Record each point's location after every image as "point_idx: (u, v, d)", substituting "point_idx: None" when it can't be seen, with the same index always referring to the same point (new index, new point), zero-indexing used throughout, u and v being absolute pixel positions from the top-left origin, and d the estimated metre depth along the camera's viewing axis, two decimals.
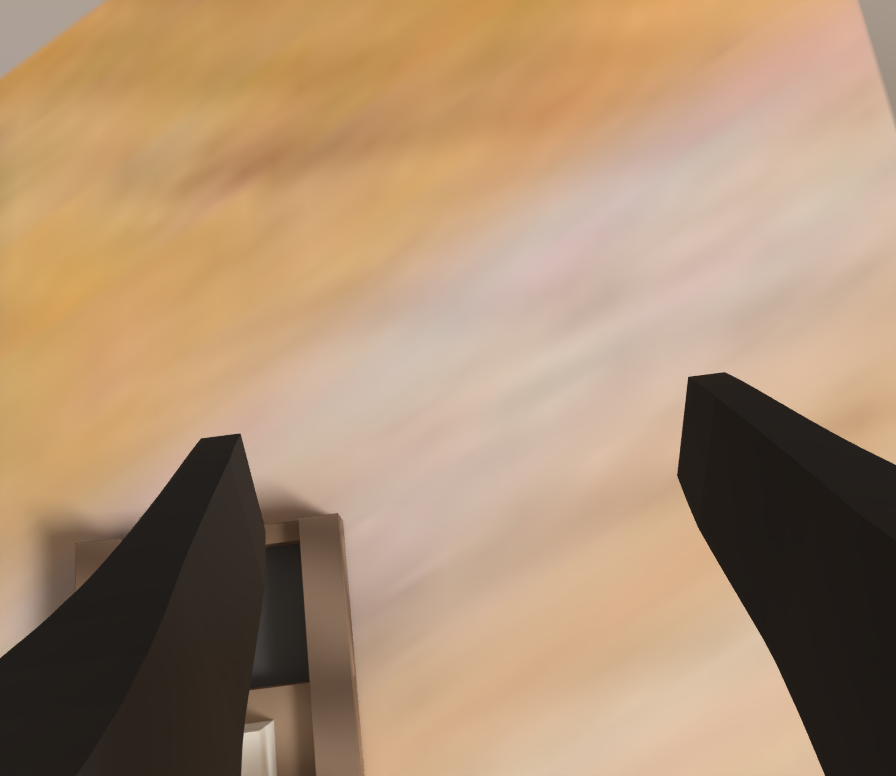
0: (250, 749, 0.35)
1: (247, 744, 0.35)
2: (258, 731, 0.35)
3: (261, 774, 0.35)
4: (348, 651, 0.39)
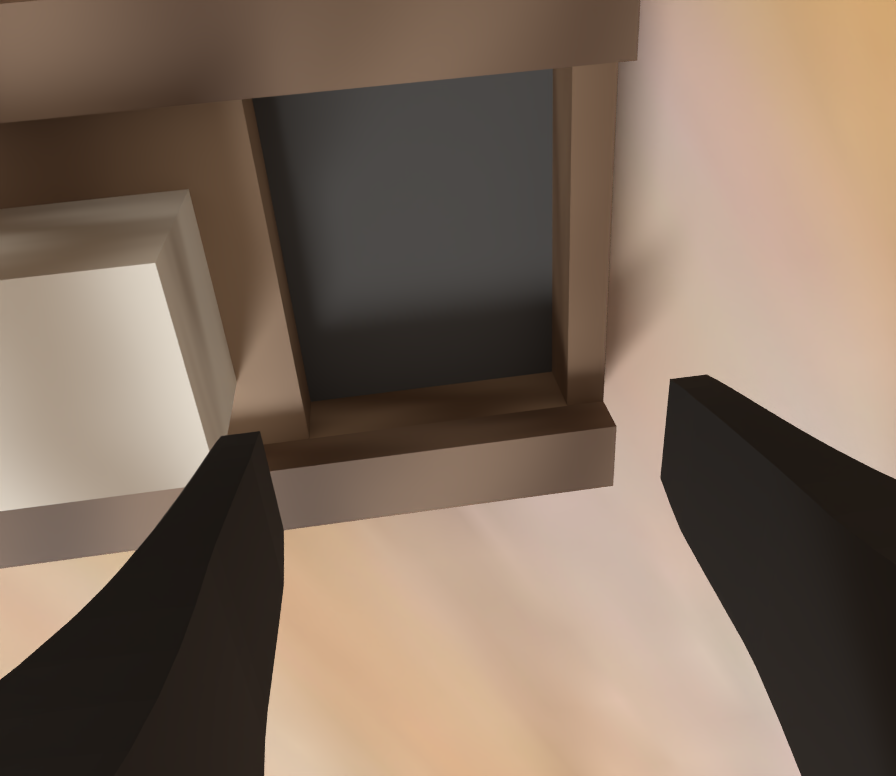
0: (179, 471, 0.17)
1: (188, 466, 0.17)
2: None
3: (132, 491, 0.17)
4: (367, 516, 0.22)
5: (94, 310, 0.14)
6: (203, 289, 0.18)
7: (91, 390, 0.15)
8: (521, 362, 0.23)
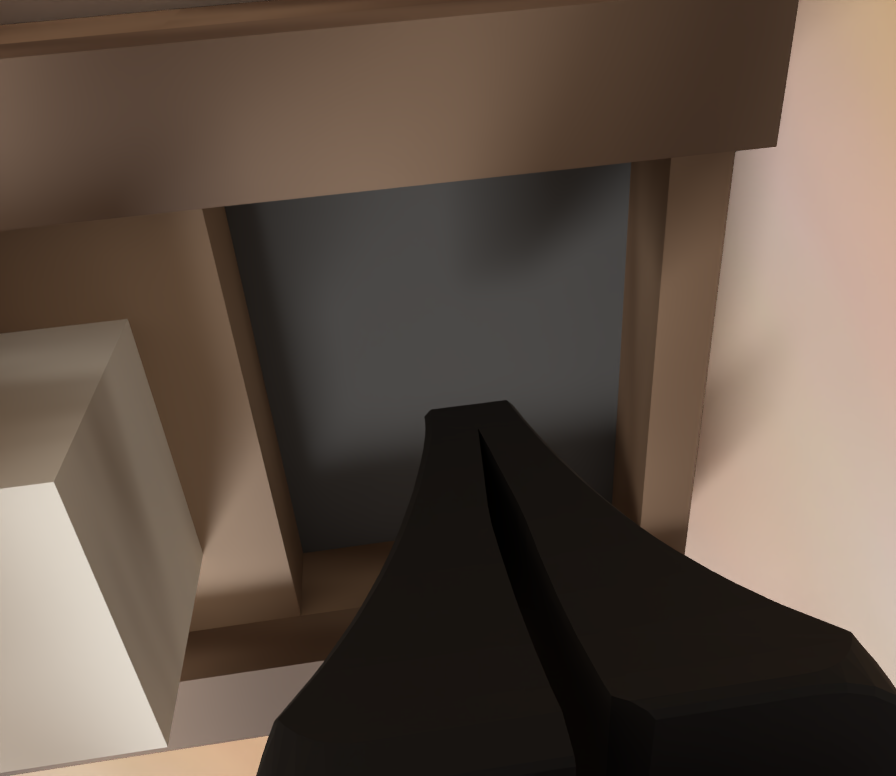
0: (110, 736, 0.11)
1: (122, 731, 0.11)
2: (165, 739, 0.12)
3: (44, 760, 0.12)
4: None
5: None
6: (149, 457, 0.13)
7: None
8: None
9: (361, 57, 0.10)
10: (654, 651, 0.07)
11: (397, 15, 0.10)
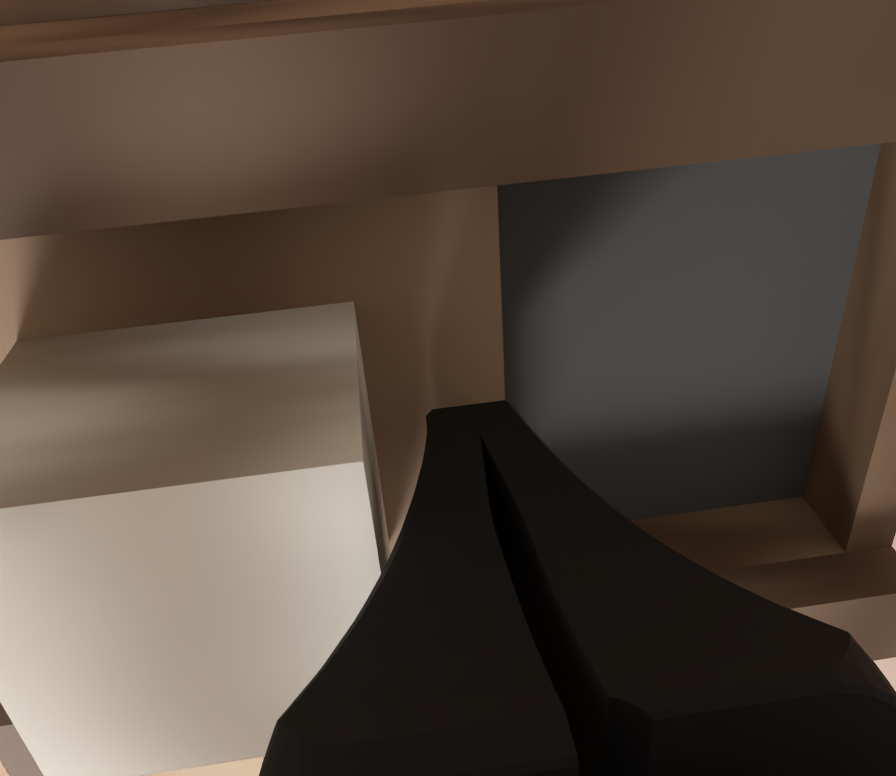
0: None
1: None
2: None
3: None
4: None
5: (259, 528, 0.09)
6: (372, 442, 0.12)
7: (241, 632, 0.10)
8: (767, 486, 0.18)
9: (717, 26, 0.10)
10: (653, 653, 0.07)
11: None
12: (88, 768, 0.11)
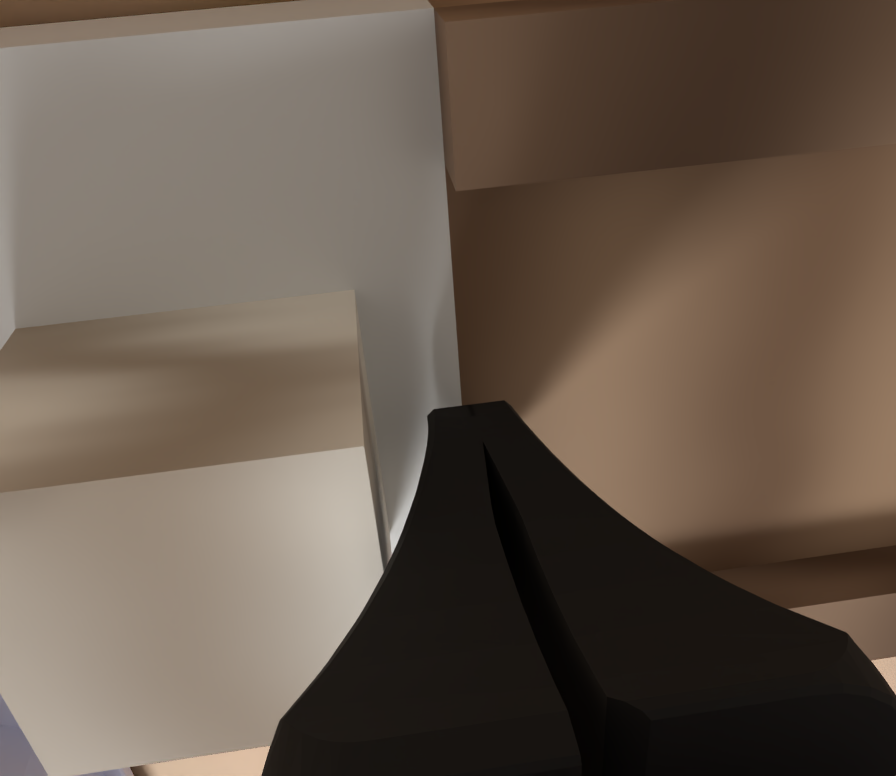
0: None
1: None
2: None
3: None
4: None
5: (260, 513, 0.09)
6: (373, 431, 0.12)
7: (242, 619, 0.10)
8: None
9: None
10: (651, 651, 0.07)
11: None
12: (87, 758, 0.11)
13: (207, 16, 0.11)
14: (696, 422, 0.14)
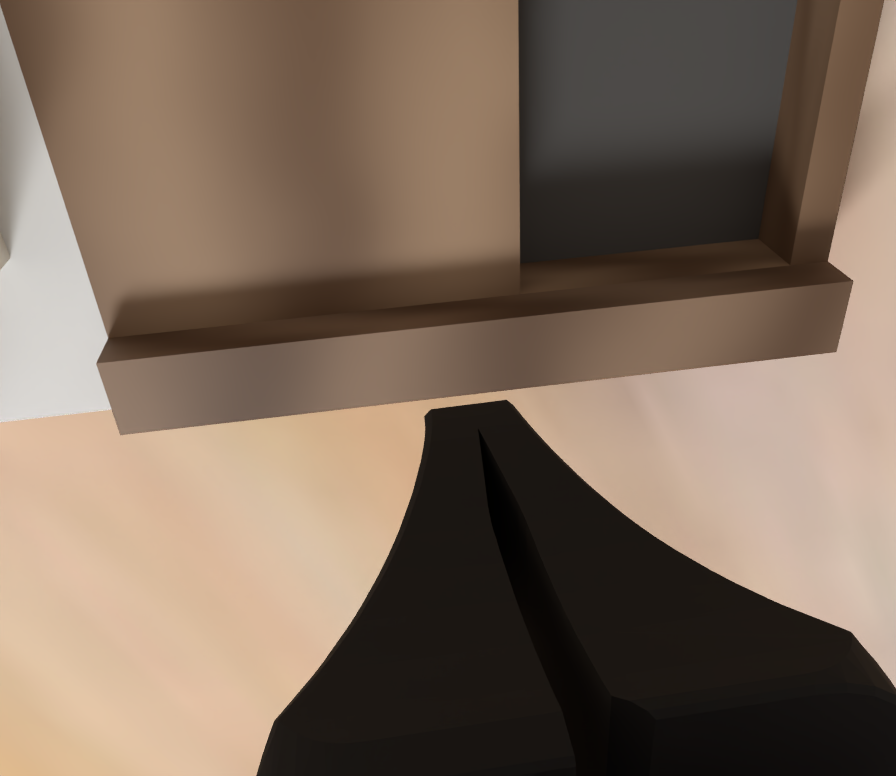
0: None
1: None
2: None
3: None
4: (579, 379, 0.20)
5: None
6: None
7: None
8: (729, 226, 0.22)
9: None
10: (655, 651, 0.07)
11: None
12: None
13: None
14: (255, 160, 0.17)
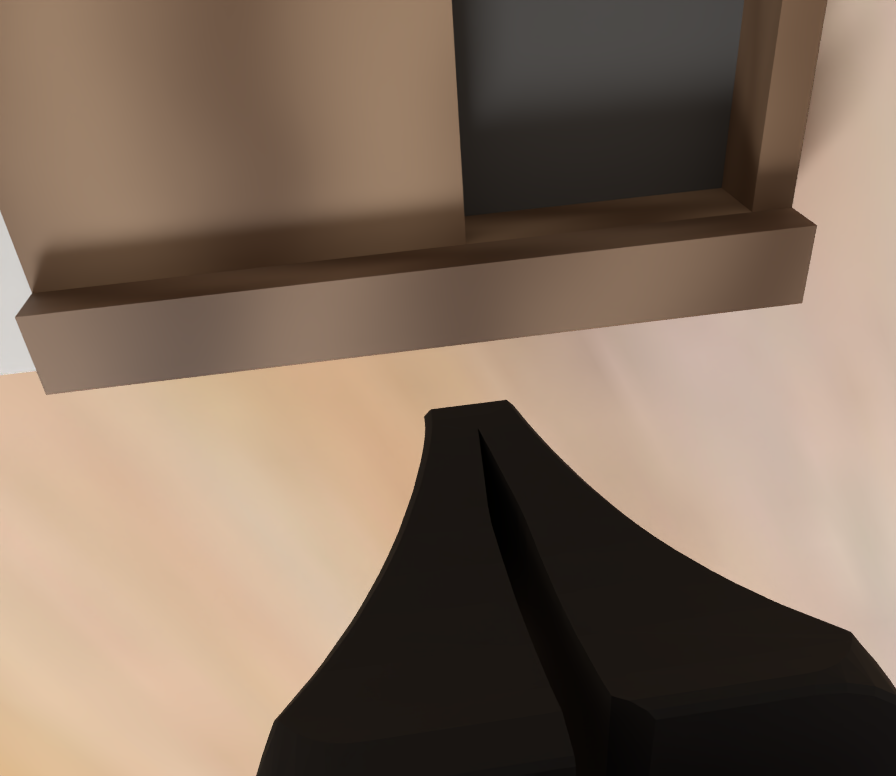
0: None
1: None
2: None
3: None
4: (529, 333, 0.19)
5: None
6: None
7: None
8: (690, 174, 0.21)
9: None
10: (655, 651, 0.07)
11: None
12: None
13: None
14: (175, 98, 0.16)
